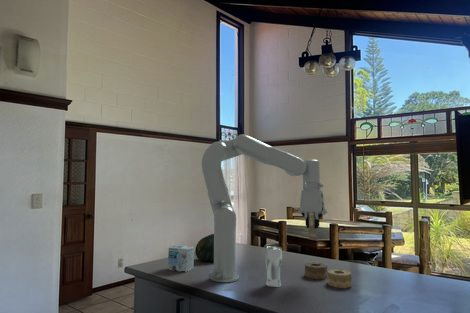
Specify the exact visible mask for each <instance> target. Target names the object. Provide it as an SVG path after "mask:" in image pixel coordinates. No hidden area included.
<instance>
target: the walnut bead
mask: <svg viewBox="0 0 470 313" xmlns="http://www.w3.org/2000/svg"><path fill="white" fill-rule="evenodd" d="M304 276H305V277H306V278H308V279H312V280H324V279H326V278H328V265H327V264H325V263H322V262H307V263H305V264H304Z"/></svg>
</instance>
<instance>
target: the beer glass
mask: <svg viewBox="0 0 470 313" xmlns="http://www.w3.org/2000/svg"><path fill="white" fill-rule="evenodd" d="M282 250H283V248H282V247H280V246H275V245H274V246H266V247H265V253H264V256H265V257H264V260H265V269H266V276H267V278H266V282H265V283H266V286H267V287H269V288H270V287H271V288H279V287H281V286H282V283H281V271H282V265H283V251H282Z"/></svg>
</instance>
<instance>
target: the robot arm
mask: <svg viewBox="0 0 470 313" xmlns="http://www.w3.org/2000/svg"><path fill="white" fill-rule="evenodd" d="M242 155H244V156H245V157H249V158H251V159H253V160H255V161H257V162H259V163H261V164H264V165H269V166H274V167H277V168H279V169H281V170H284V171H285V173H286V174H287V175H288V176H290V177H299V176H302V189H301V193H300V199H299V200H300V201H299V202H300V204H299V208H298V210H297V213H298V214H300V215H302V217H303V218H304V220H305V226H306V229H309V213H308V212H315V217H316V218H315V229H316V230H317V229H319V227H320V219H321V218H322V217H323V216H325V215H326V214H327V213H328V212H327V209H326V207H325V199H324V193H323V192H324V191H323V190H322V189H321V188H324V184H321V182H320V181H321V177H320V162H319V160H317V159H305V160H303V159H302V158H300V157H298V156H296V155H293V154H291V153H289V152H287V151H285V150H281V149H279V148H276V147H274V146H271V145H269V144H267V143H264V142H262V141H261V140H258V139H256V138H254V137H252V136H249V135H247V134H243V133H242V134H241V133H240V134H239V135H236V137H235V138H231V139H229V140H227V141H223V142H222V141H215V142H212V143H211V144H210V145H209V146H208V147H207V148H206V149H205V150H204V152H203V155H202V158H201V171H202V174H203V180H204V182H205V186H206V189H207V191H206V192H207V196H208V200H209V203H210V207H211V210H212V214H213V234H214V261H213V269H212V272H211V273H209V274H208V276H207V277H208V279H209V280H211V281H213V282H217V283H232V282H233V283H234V282H236V281H238V280H240V279H239V278H240V276H239V274H237V273H236V256H237V255H236V254H237V253H236V246H237V245H236V240H237V239H236V234H237V231H236V229H237V214H236V211H235V209H234V207H233V204H232V202H231V201H232V200H231V197H230V194H229V188H228V186H227V183H226V180H225V178H224V172H223V170H222V162H224V161H227V160H230V159H233V158H236V157H240V156H242Z"/></svg>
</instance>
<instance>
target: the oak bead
mask: <svg viewBox="0 0 470 313" xmlns="http://www.w3.org/2000/svg"><path fill="white" fill-rule="evenodd" d="M327 284H328V286H330V287H332V288H337V289H338V288H339V289H347V288H350V287H352V273H351V271H348V270H345V269H338V268H337V269H335V268H332V269H329V270H328V269H327Z"/></svg>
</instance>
